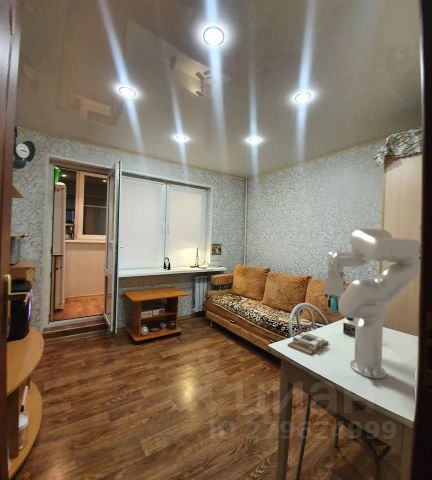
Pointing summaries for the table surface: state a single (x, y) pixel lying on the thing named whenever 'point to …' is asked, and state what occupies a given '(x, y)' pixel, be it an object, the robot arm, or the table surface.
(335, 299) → the peg
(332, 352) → the table surface
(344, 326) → the medicine bottle
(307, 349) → the socket board
